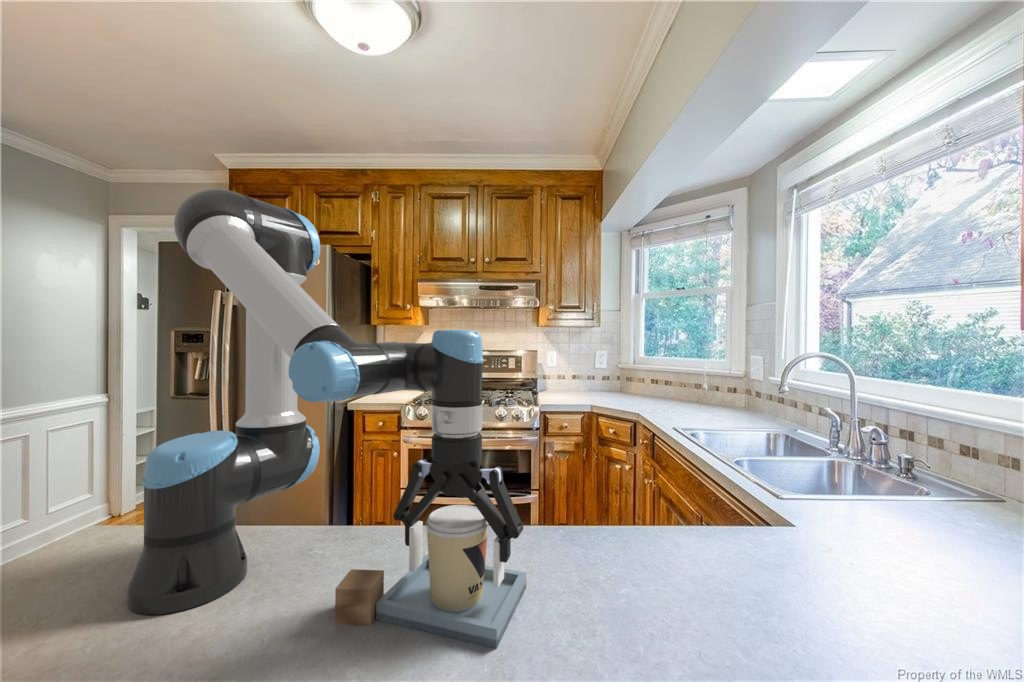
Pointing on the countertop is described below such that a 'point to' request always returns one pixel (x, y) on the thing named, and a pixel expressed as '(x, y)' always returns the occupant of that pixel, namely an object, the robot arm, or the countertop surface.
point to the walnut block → (358, 597)
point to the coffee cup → (456, 556)
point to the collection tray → (476, 625)
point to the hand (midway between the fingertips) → (455, 574)
